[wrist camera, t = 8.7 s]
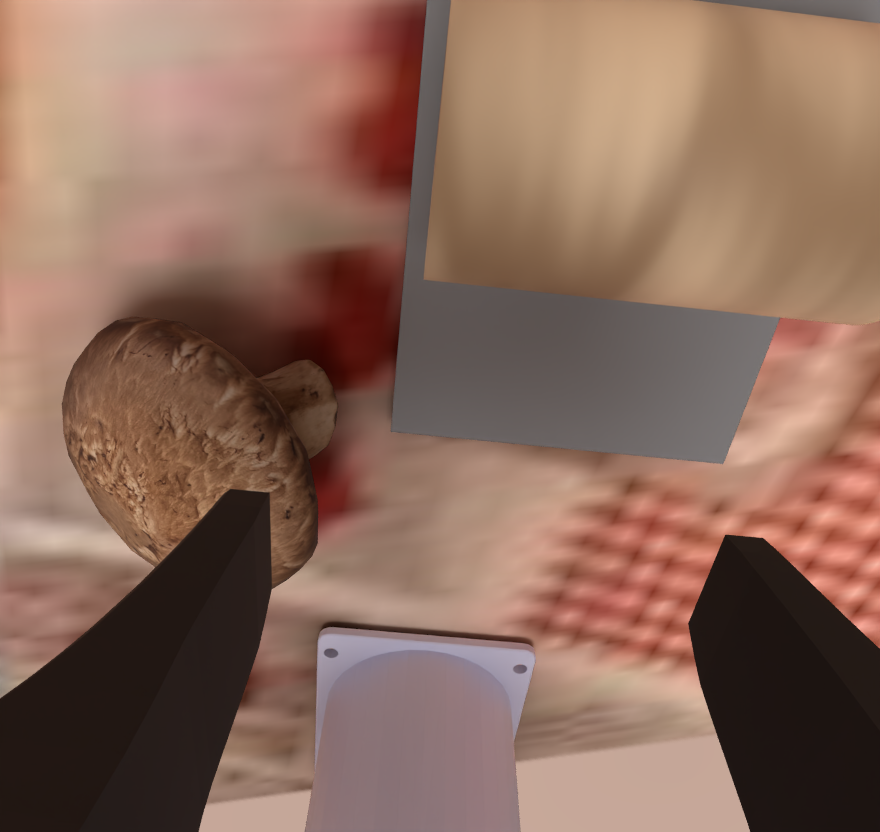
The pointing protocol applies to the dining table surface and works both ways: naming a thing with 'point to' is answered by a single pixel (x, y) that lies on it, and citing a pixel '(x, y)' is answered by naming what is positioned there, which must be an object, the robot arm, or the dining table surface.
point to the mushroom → (194, 436)
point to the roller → (661, 156)
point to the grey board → (568, 335)
